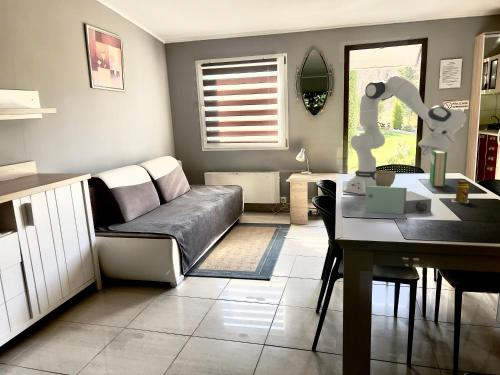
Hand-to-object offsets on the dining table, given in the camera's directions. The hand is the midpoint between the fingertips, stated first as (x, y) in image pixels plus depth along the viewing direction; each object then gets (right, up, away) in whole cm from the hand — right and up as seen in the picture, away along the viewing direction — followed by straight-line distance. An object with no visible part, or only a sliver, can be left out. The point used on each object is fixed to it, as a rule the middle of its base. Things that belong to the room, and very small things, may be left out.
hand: (423, 154), depth 199 cm
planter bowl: (-2, -18, +57) cm, 60 cm away
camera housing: (-6, -29, +5) cm, 30 cm away
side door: (-22, -31, -2) cm, 38 cm away
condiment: (+28, -26, +15) cm, 41 cm away
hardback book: (+38, -16, +61) cm, 73 cm away
